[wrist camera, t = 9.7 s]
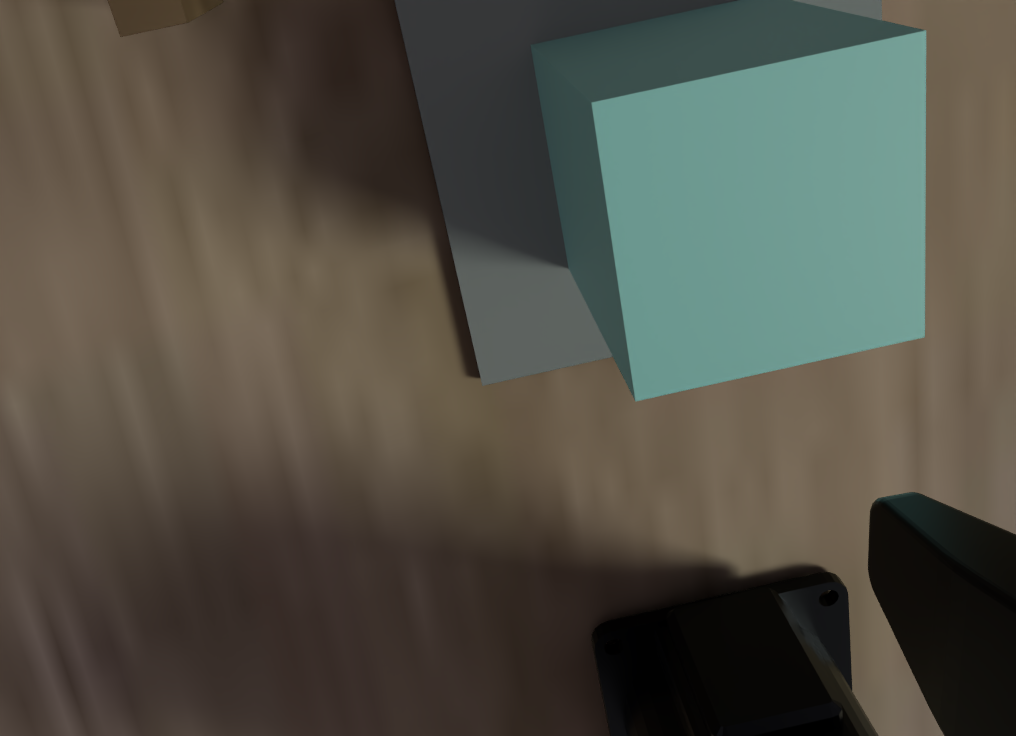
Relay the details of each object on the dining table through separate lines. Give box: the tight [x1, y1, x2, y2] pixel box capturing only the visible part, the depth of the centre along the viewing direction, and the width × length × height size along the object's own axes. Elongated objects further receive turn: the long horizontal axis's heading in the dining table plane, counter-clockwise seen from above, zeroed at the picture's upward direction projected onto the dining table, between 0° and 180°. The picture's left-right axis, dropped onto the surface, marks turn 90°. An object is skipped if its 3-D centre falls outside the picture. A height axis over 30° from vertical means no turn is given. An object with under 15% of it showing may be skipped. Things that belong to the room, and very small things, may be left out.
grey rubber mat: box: [395, 0, 882, 386], centre depth 19 cm, size 9×9×1 cm
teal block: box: [531, 0, 926, 401], centre depth 16 cm, size 4×4×6 cm
